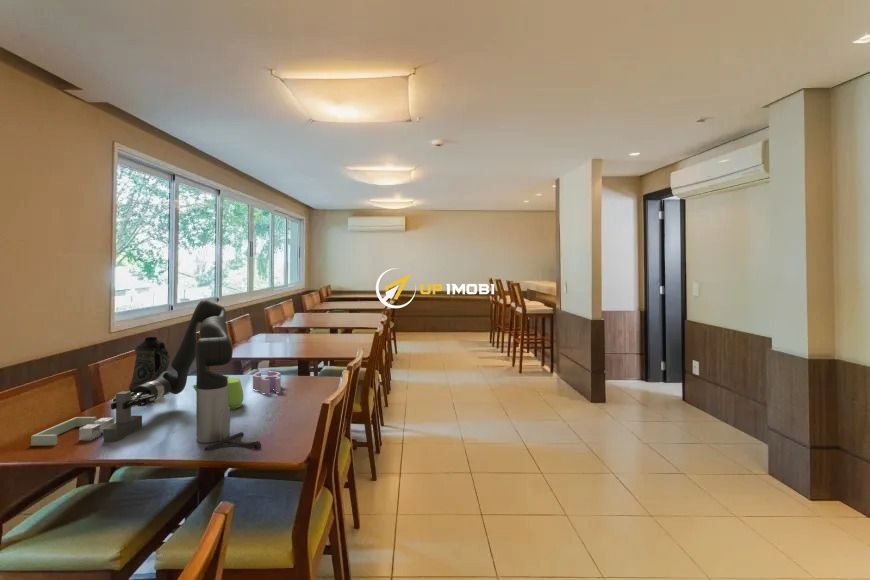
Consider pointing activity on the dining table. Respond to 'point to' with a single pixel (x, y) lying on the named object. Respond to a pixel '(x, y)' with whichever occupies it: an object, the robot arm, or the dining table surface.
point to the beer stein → (149, 361)
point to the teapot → (233, 392)
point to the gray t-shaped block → (122, 420)
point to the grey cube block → (90, 432)
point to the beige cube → (104, 423)
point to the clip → (267, 382)
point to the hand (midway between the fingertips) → (118, 406)
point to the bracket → (234, 443)
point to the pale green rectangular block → (59, 430)
